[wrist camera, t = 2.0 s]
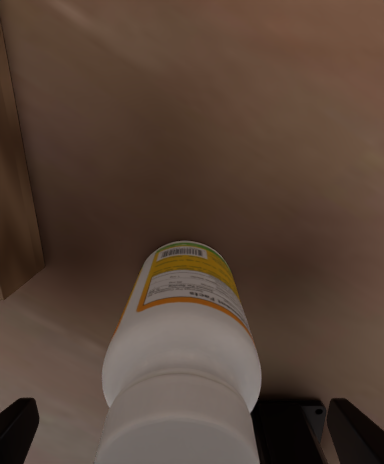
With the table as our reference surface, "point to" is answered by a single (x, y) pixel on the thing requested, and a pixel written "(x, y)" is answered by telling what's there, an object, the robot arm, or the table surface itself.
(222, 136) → the table surface
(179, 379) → the supplement bottle
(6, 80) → the box
